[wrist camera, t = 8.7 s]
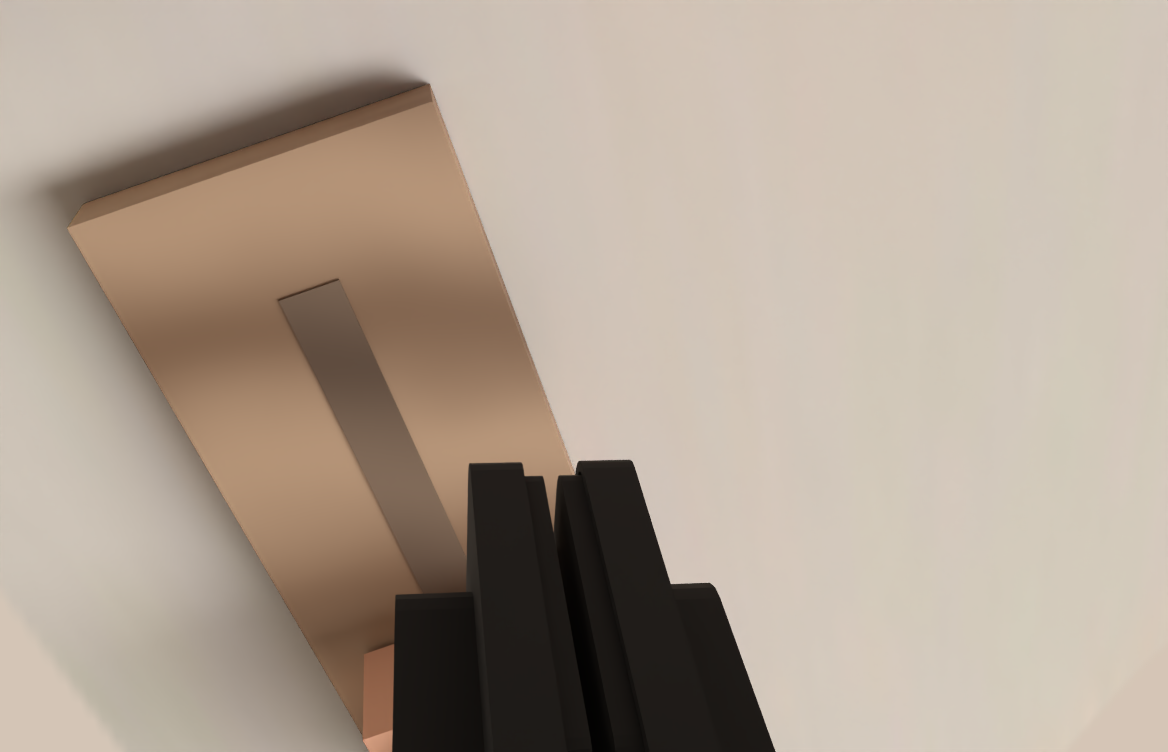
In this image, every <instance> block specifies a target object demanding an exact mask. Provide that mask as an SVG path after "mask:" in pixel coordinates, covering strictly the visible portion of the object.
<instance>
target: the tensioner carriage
mask: <svg viewBox="0 0 1168 752" xmlns="http://www.w3.org/2000/svg"><path fill="white" fill-rule="evenodd" d="M393 681H394V644H392V645H389V646H386V647H384V648H381V649H378V650H375V651H372V652H369V653H366V654H364V691H363V742H364V743H365V745H366V747H367V748H368V750H369V752H392V735H393Z"/></svg>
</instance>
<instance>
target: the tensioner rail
mask: <svg viewBox="0 0 1168 752" xmlns="http://www.w3.org/2000/svg"><path fill="white" fill-rule="evenodd" d="M67 229H68V231H69V233H70V234H71V236H72V238H73V240H74V241H75V243H76V245H77V246H78V248H79V250H80V252H81V253H82V255H83V257H84V258H85V260H86V262H87V264H88V265H89V267H90V269H91V270H92V272H93V274H94V276H95V277H96V279H97V281H98V282H99V284H100V286H101V288H102V289H103V291H104V293H105V294H106V296H107V298H108V300H109V301H110V303H111V305H112V306H113V308H114V310H115V312H116V313H117V315H118V317H119V318H120V320H121V322H122V324H123V325H124V327H125V329H126V330H127V332H128V334H129V336H130V337H131V339H132V341H133V343H134V344H135V346H136V348H137V349H138V351H139V353H140V355H141V356H142V358H143V360H144V361H145V363H146V365H147V367H148V368H149V370H150V372H151V373H152V375H153V377H154V379H155V380H156V382H157V384H158V385H159V387H160V389H161V391H162V392H163V394H164V396H165V397H166V399H167V401H168V403H169V404H170V406H171V408H172V409H173V411H174V413H175V415H176V416H177V418H178V420H179V421H180V423H181V425H182V427H183V428H184V430H185V432H186V433H187V435H188V437H189V439H190V440H191V442H192V444H193V445H194V447H195V449H196V451H197V452H198V454H199V456H200V457H201V459H202V461H203V463H204V464H205V466H206V468H207V470H208V471H209V473H210V475H211V476H212V478H213V480H214V482H215V483H216V485H217V487H218V488H219V490H220V492H221V494H222V495H223V497H224V499H225V500H226V502H227V504H228V506H229V507H230V509H231V511H232V512H233V514H234V516H235V518H236V519H237V521H238V523H239V524H240V526H241V528H242V530H243V531H244V533H245V535H246V536H247V538H248V540H249V542H250V543H251V545H252V547H253V548H254V550H255V552H256V554H257V555H258V557H259V559H260V560H261V562H262V564H263V566H264V567H265V569H266V571H267V572H268V574H269V576H270V578H271V579H272V581H273V583H274V584H275V586H276V588H277V590H278V591H279V593H280V595H281V597H282V598H283V600H284V602H285V603H286V605H287V607H288V609H289V610H290V612H291V614H292V615H293V617H294V619H295V621H296V622H297V624H298V626H299V627H300V629H301V631H302V633H303V634H304V636H305V638H306V639H307V641H308V643H309V645H310V646H311V648H312V650H313V651H314V653H315V655H316V657H317V658H318V660H319V662H320V663H321V665H322V667H323V669H324V670H325V672H326V674H327V675H328V677H329V679H330V681H331V682H332V684H333V686H334V687H335V689H336V691H337V693H338V694H339V696H340V698H341V699H342V701H343V703H344V705H345V706H346V708H347V710H348V711H349V713H350V715H351V717H352V718H353V720H354V722H355V723H356V725H357V727H358V729H359V730H360V732H361V734H362V736H363V691H364V654H366V653H369V652H372V651H375V650H378V649H381V648H384V647H386V646H389V645H392V644H394V628H395V595H400V594H427V593H453V592H466V565H467V508H468V468H469V463H504V462H522V464H523V468H524V475H525V476H543V478H544V482H545V487H546V493H547V498H548V504H549V510H550V515H551V521H552V526H553V532H554V518H555V503H556V488H557V480H558V476H559V475H575V472H574V470H573V467H572V464H571V462H570V459H569V456H568V454H567V451H566V448H565V446H564V443H563V440H562V437H561V435H560V432H559V429H558V427H557V424H556V421H555V419H554V416H553V413H552V411H551V408H550V405H549V403H548V400H547V397H546V395H545V392H544V389H543V386H542V384H541V381H540V378H539V376H538V373H537V370H536V368H535V365H534V362H533V360H532V357H531V354H530V352H529V349H528V346H527V344H526V341H525V338H524V336H523V333H522V330H521V327H520V325H519V322H518V319H517V317H516V314H515V311H514V309H513V306H512V303H511V301H510V298H509V295H508V293H507V290H506V287H505V285H504V282H503V279H502V277H501V274H500V271H499V268H498V266H497V263H496V260H495V258H494V255H493V252H492V250H491V247H490V244H489V242H488V239H487V236H486V234H485V231H484V228H483V226H482V223H481V220H480V218H479V215H478V212H477V209H476V207H475V204H474V201H473V199H472V196H471V193H470V191H469V188H468V185H467V183H466V180H465V177H464V175H463V172H462V169H461V167H460V164H459V161H458V159H457V156H456V153H455V150H454V148H453V145H452V142H451V140H450V137H449V134H448V132H447V129H446V126H445V124H444V121H443V118H442V116H441V113H440V110H439V108H438V105H437V102H436V99H435V97H434V94H433V91H432V89H431V86H430V84H427V85H424V86H421V87H418V88H416V89H413V90H410V91H407V92H404V93H401V94H398V95H395V96H393V97H390V98H387V99H384V100H381V101H378V102H375V103H372V104H370V105H367V106H364V107H361V108H358V109H355V110H352V111H349V112H346V113H344V114H341V115H338V116H335V117H332V118H329V119H326V120H323V121H321V122H318V123H315V124H312V125H309V126H306V127H303V128H300V129H298V130H295V131H292V132H289V133H286V134H283V135H280V136H277V137H274V138H272V139H269V140H266V141H263V142H260V143H257V144H254V145H251V146H249V147H246V148H243V149H240V150H237V151H234V152H231V153H228V154H226V155H223V156H220V157H217V158H214V159H211V160H208V161H205V162H202V163H200V164H197V165H194V166H191V167H188V168H185V169H182V170H179V171H177V172H174V173H171V174H168V175H165V176H162V177H159V178H156V179H153V180H151V181H148V182H145V183H142V184H139V185H136V186H133V187H130V188H128V189H125V190H122V191H119V192H116V193H113V194H110V195H107V196H105V197H102V198H99V199H96V200H93V201H90V202H87V203H84V204H83V205H82V207H81V208H80V210H79V211H78V213H77V214H76V216H75V217H74V218H73V220H72V221H71V223H70V224H69V226H68V227H67Z"/></svg>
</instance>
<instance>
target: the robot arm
mask: <svg viewBox="0 0 1168 752" xmlns="http://www.w3.org/2000/svg"><path fill="white" fill-rule="evenodd" d="M392 752H775V749H774V746H773V744H772V741H771V738H770V735H769V733H768V730H767V727H766V724H765V721H764V719H763V716H762V713H761V710H760V708H759V705H758V702H757V699H756V696H755V694H754V691H753V688H752V685H751V683H750V680H749V677H748V674H747V671H746V669H745V666H744V663H743V660H742V658H741V655H740V652H739V649H738V646H737V644H736V641H735V638H734V635H733V633H732V630H731V627H730V624H729V621H728V619H727V616H726V613H725V610H724V608H723V605H722V602H721V599H720V597H719V595H718V593H717V591H716V588H715V587H714V586H713V585H712V584H711V583H692V584H670V581H669V577H668V574H667V571H666V568H665V564H664V561H663V558H662V555H661V551H660V548H659V545H658V542H657V538H656V535H655V532H654V529H653V525H652V522H651V519H650V516H649V512H648V509H647V506H646V503H645V499H644V496H643V493H642V489H641V486H640V483H639V480H638V476H637V473H636V470H635V467H634V464H633V462H632V461H631V460H601V461H579V462H578V463H577V468H576V474H575V475H559V476H558V480H557V488H556V503H555V518H554V532H553V526H552V521H551V515H550V510H549V504H548V498H547V493H546V487H545V482H544V478H543V476H525V475H524V468H523V464H522V462H504V463H469V468H468V508H467V565H466V592H453V593H427V594H400V595H395V628H394V681H393V735H392Z"/></svg>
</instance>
